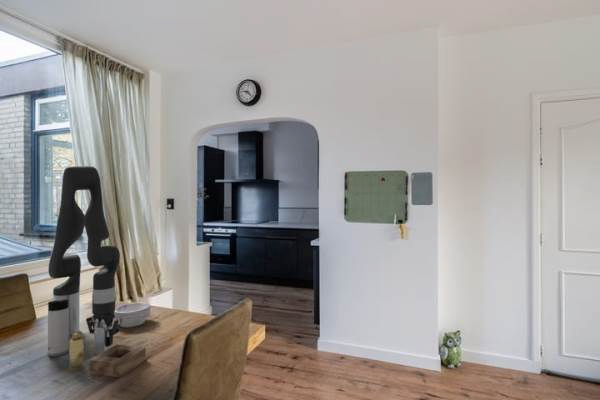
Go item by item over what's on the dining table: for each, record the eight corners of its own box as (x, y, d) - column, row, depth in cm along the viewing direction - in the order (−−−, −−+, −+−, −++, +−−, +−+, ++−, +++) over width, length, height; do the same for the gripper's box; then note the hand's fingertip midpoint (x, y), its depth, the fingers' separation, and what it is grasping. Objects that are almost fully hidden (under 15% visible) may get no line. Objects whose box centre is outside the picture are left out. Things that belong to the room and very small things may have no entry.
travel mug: (45, 358, 120) (46, 303, 120) (49, 351, 125) (49, 298, 125) (67, 355, 123) (67, 300, 122) (69, 347, 128) (69, 296, 128)
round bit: (66, 370, 112) (66, 335, 111) (76, 364, 115) (76, 330, 115) (76, 372, 111) (76, 336, 111) (86, 366, 115) (86, 331, 115)
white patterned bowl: (118, 319, 159) (118, 302, 159) (153, 316, 162) (153, 300, 162) (108, 331, 144) (108, 313, 144) (146, 329, 147) (146, 311, 147)
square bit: (94, 354, 123) (95, 322, 123) (103, 349, 127) (103, 318, 127) (104, 355, 123) (104, 322, 122) (112, 350, 126) (112, 319, 126)
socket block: (89, 373, 110) (89, 360, 110) (116, 356, 122) (116, 344, 122) (121, 377, 107) (121, 363, 107) (145, 359, 119) (145, 347, 119)
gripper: (79, 301, 122) (79, 347, 123) (113, 304, 120) (112, 351, 120) (95, 295, 130) (95, 339, 130) (127, 297, 127) (127, 342, 127)
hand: (103, 345), depth 125 cm, fingers closed on square bit, 4 cm apart
